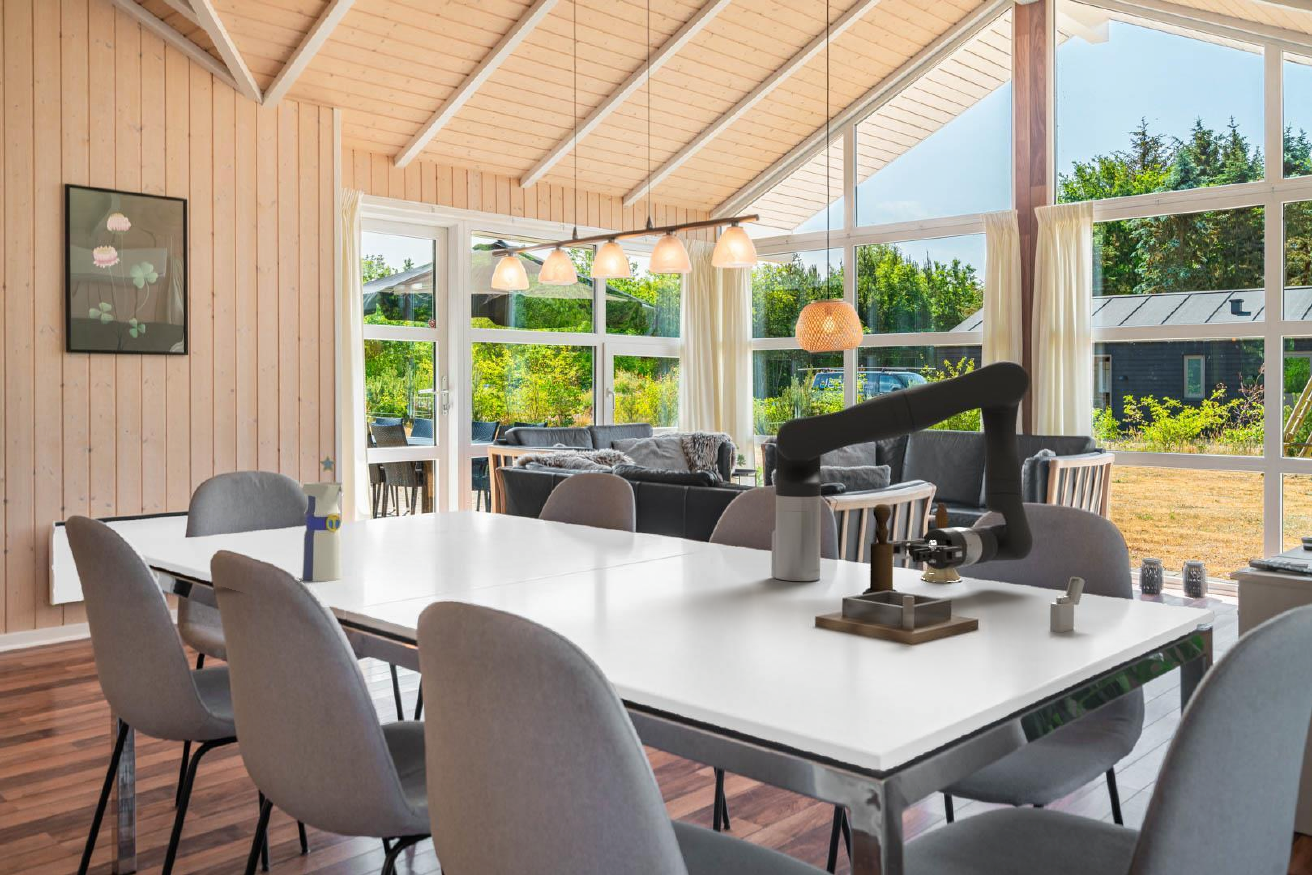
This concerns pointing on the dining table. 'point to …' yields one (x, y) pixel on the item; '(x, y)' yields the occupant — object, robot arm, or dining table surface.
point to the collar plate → (897, 617)
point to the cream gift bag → (322, 530)
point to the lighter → (1066, 607)
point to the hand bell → (943, 574)
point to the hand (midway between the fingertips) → (894, 553)
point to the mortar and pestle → (881, 554)
